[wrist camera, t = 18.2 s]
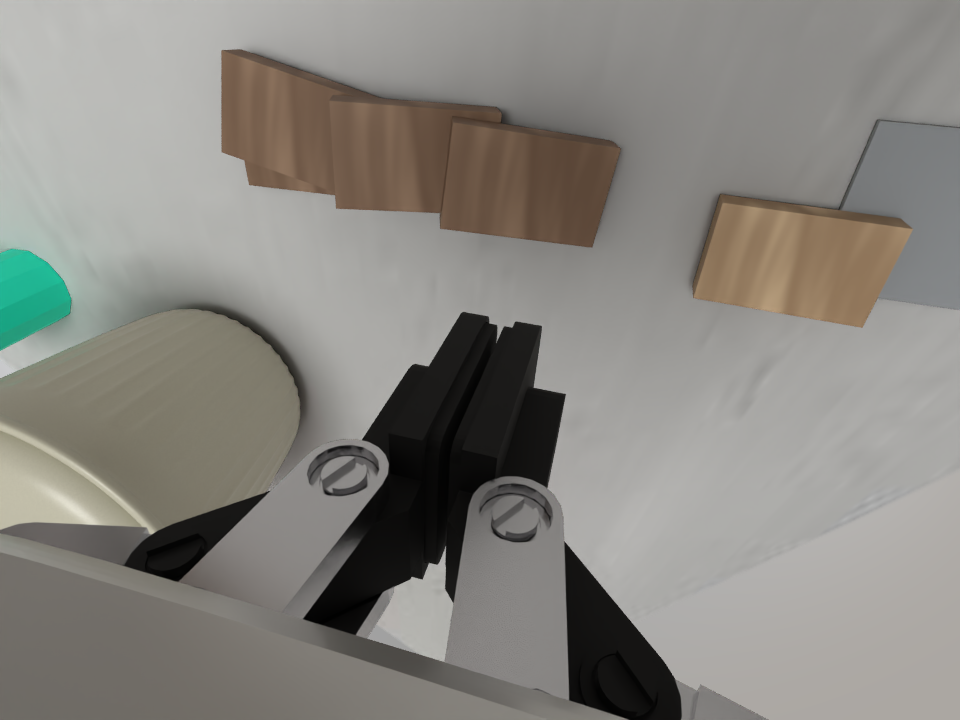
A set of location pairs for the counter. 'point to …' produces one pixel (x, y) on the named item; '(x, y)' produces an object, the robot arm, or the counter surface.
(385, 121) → the domino
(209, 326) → the canister
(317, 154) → the domino
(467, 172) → the domino
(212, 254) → the counter surface
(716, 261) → the domino
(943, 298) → the pad
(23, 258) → the candle
